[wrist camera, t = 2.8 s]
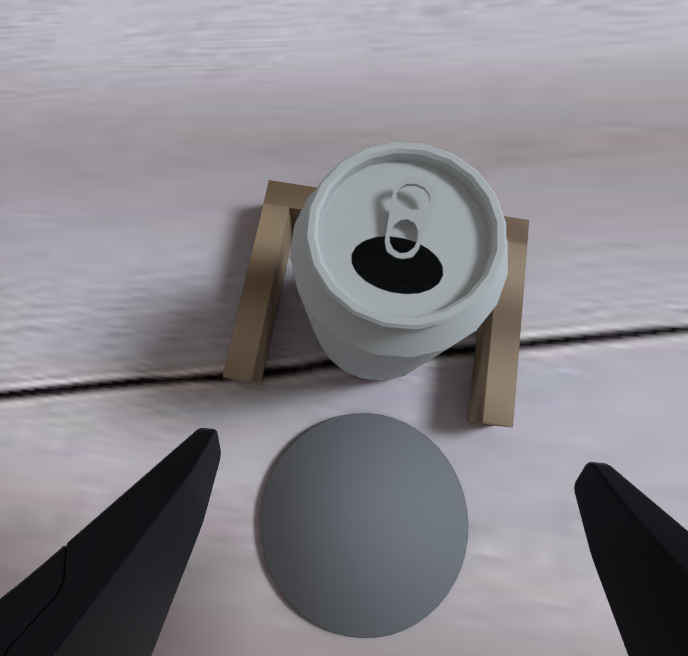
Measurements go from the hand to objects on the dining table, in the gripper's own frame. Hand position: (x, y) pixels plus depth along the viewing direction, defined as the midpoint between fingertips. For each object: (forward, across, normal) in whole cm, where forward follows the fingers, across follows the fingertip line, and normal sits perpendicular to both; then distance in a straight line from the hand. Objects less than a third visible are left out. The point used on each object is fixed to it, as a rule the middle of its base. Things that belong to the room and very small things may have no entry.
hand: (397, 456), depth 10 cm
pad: (+6, 0, +12) cm, 14 cm away
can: (+14, 0, +5) cm, 15 cm away
